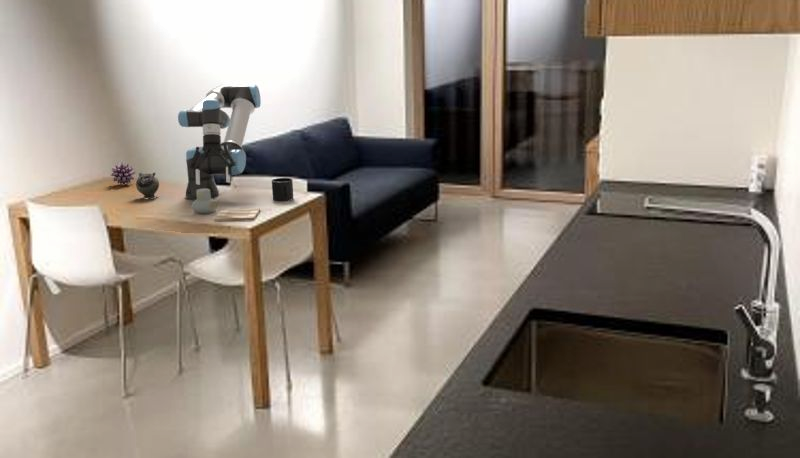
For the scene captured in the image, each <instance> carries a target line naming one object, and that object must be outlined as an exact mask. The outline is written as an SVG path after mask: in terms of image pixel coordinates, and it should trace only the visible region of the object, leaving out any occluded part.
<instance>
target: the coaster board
mask: <svg viewBox="0 0 800 458" xmlns="http://www.w3.org/2000/svg"><path fill="white" fill-rule="evenodd" d="M260 213H261V208H223V209H222V210H221V211H220V212H219V213H218V214H217V216H215V218H214V222H243V221H244V222H245V220H254V219H255V220H256V218H257V217H258V215H259V214H260ZM255 220H254V221H255Z"/></svg>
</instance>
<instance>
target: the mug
mask: <svg viewBox="0 0 800 458" xmlns="http://www.w3.org/2000/svg"><path fill="white" fill-rule="evenodd" d="M293 185H294V183H293V179H292V178H289V177H279V178H278V177H277V178H274V179H272V180H271V191H272V192H271V193H272V194H271V195H272V200H273V201H275V202H288V200H289V201H291V199H292V200H293V199H294V186H293Z"/></svg>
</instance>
